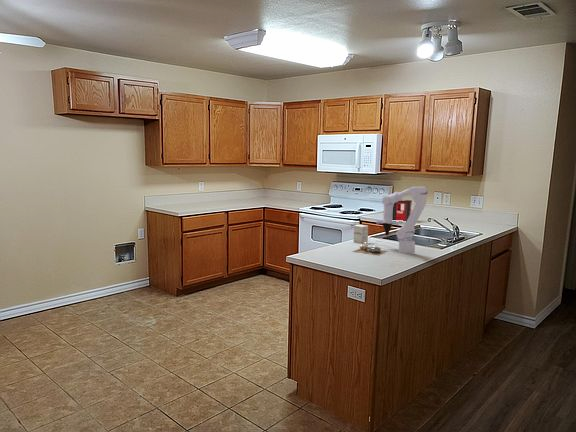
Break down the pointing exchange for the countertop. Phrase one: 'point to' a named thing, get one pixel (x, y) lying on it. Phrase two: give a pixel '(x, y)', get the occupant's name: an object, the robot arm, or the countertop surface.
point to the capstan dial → (370, 248)
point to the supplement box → (360, 234)
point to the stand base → (370, 252)
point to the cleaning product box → (402, 210)
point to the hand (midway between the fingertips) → (387, 235)
